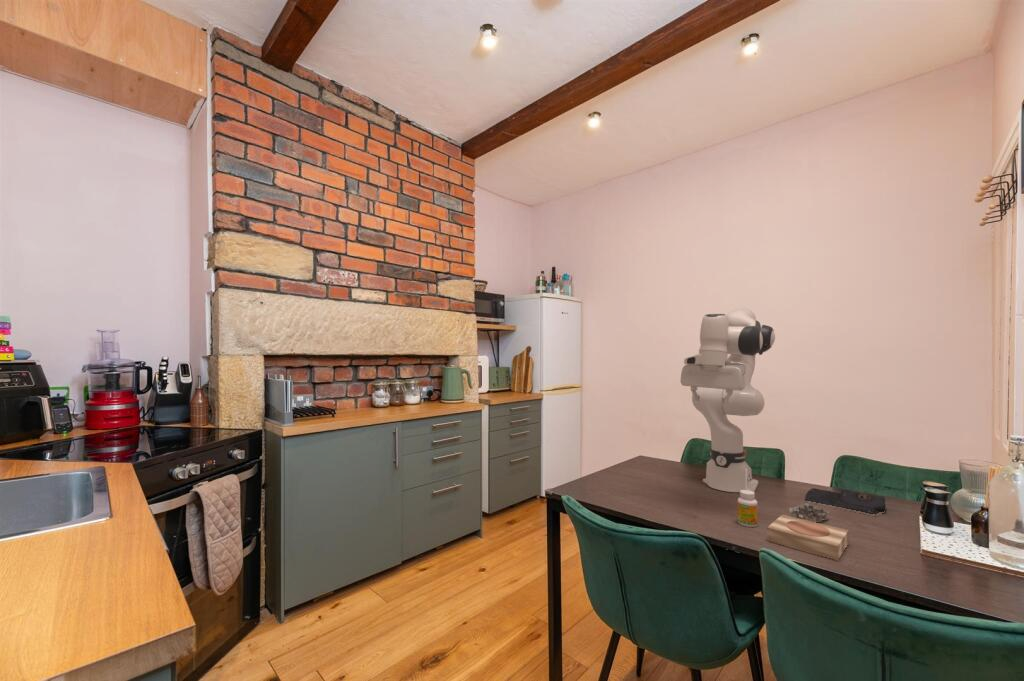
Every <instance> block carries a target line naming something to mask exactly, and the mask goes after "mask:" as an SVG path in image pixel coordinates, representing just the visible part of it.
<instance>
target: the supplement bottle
mask: <svg viewBox="0 0 1024 681" xmlns="http://www.w3.org/2000/svg"><path fill="white" fill-rule="evenodd" d="M739 495H740V496H739V497H737V522H738V524H740V525H741V526H744V527H748V528H755V527H757V526H758V523H759V522H758V520H759V519H758V518H759V517H758V514H759V513H758V507H759V506H758V505H759V504H758V501H757V499H755V495H756V494H755V492H753V491H749V490H741V491H740V492H739Z"/></svg>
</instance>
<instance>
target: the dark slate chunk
mask: <svg viewBox="0 0 1024 681" xmlns="http://www.w3.org/2000/svg"><path fill="white" fill-rule="evenodd" d="M805 500H806V501H811V502H816V503H821V504H826V505H832V506H836V507H842V508H846V509H851V510H856V511H861V512H865V513H869V514H875V515H876V514H877V513H879V512H884V511H885V512H886V509H887V508H886V499H885V497H884V496H882V495H880V496H879V495H876V494H875V495H874V494H869V493H868V494H866V498H864V495H862V494H861V493H860V492H858V491H851V490H849V489H842V490H841V492H835V491H831V490H827V489H826V490H825V489H819V488H810V489H808V491H807V492H806V494H805V498H804V501H805ZM806 501H805V502H806ZM885 508H886V509H885Z"/></svg>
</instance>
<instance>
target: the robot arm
mask: <svg viewBox="0 0 1024 681" xmlns="http://www.w3.org/2000/svg"><path fill="white" fill-rule="evenodd" d="M775 340H776V334H775V330H774V329H773V327H771V326H769V325H765V324H761V323H760V322H759V321H758V320H757V318H756V315H755V313H754V312H753V311H752V310H751V309H748V308H737V309H734V310H732V311H729V313H728V314H724V313H707V314H705V315H704V316H702V319H701V324H700V331H699V341H700V342H699V344H700V347H699V348H698V349H699V350H698V354H695V355H691V356H688V357H685V358H684V360H683V363H684V365H683V366H682V367H681V368H682V369H681V372H680V384H681V386H683V387H690V391H691V393H692V394H691V402H692V405H693V406H694V408H695V409H696V410H697V411H698V412H699V413H701V414H702V416H703V417H704V418H705V421H706V422H707V424H708V426H709V429H710V430H709V431H710V440H711V448H710V449H709V450H710V451H709V456H710V457H709V458H710V459H709V460H708V461H707V462H706V471H705V473H706V475H705V478H702V482H703V483H704V484H706V485H707V486H708V487H710V488H711V489H714V490H717V491H718V490H719V491H722V492H727V493H728V492H729V493H740V491H741V490H749V491H753V492H754V493H755V492H756V489H757V487H758V485H759V480H757V479H755V478H753V476H752V475H753V474H752V472H753V471H752V468H751V467H750V465H749V464H748V463H747V462H746V456H747V450H745V449H744V434H743V431H742V430H741V428H740V427H739V426H737V425H736V424H734V423H732V422H731V421H730V420H729V418H728V416H736V417H737V416H739V417H752V416H758V415H759V414H761V413H762V411H763V410H764V407H765V398H764V396H763V394H762V393H761V391H760V390H758V389H756V388H754V387H753V386H752V385H751V381H752V377H753V374H754V371H755V367H756V355H759V356H761V355H764V353H766V352H768V351H769V350H770V349H771V348H772V347H773V345H774V343H775ZM728 355H729V356H728Z"/></svg>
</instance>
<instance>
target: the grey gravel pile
mask: <svg viewBox="0 0 1024 681" xmlns="http://www.w3.org/2000/svg"><path fill="white" fill-rule="evenodd" d="M788 509H789V510H788V512H789V513H790V516H791V517H795V518H799V519H803V520H807V521H812V522H817V521H818V522H821V523H822V519H825V520H826V519H827V520H828V516H829V515H830V514H829V510H827V511H825V510H824V509H823V508H822V507H821V508H820V507H818V506H816V505H813V504H811V503H808V502H805V503H804V504H798V505H797V506H794V507H791V506H790V507H789V508H788ZM805 513H808V514H805Z"/></svg>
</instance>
